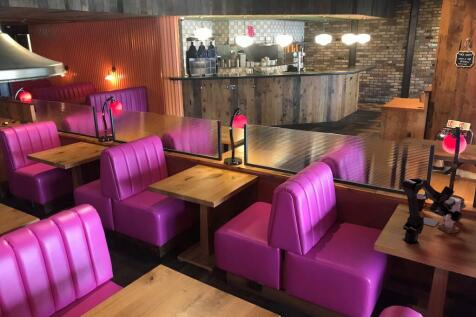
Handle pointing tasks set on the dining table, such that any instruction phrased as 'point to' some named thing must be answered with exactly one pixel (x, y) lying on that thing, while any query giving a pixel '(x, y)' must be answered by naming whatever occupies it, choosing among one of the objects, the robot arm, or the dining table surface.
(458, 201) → the skincare box
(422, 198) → the coffee mug
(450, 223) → the cream shaker
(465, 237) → the dining table surface
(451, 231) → the walnut pocket
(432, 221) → the grey mat
